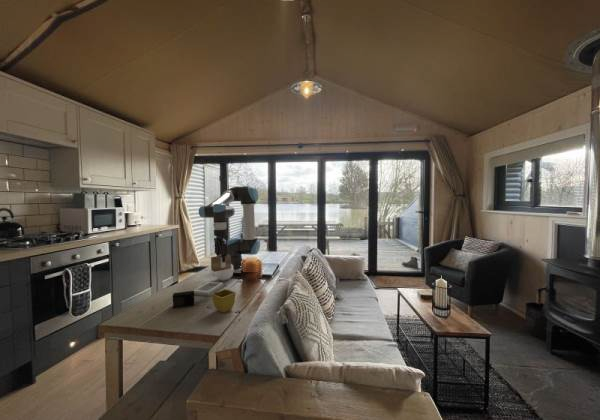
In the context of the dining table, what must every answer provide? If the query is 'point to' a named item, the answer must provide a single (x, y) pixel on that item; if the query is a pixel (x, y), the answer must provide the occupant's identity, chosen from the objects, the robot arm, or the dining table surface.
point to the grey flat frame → (209, 289)
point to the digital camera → (183, 299)
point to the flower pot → (223, 300)
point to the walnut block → (217, 263)
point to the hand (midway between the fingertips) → (221, 266)
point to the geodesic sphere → (224, 273)
